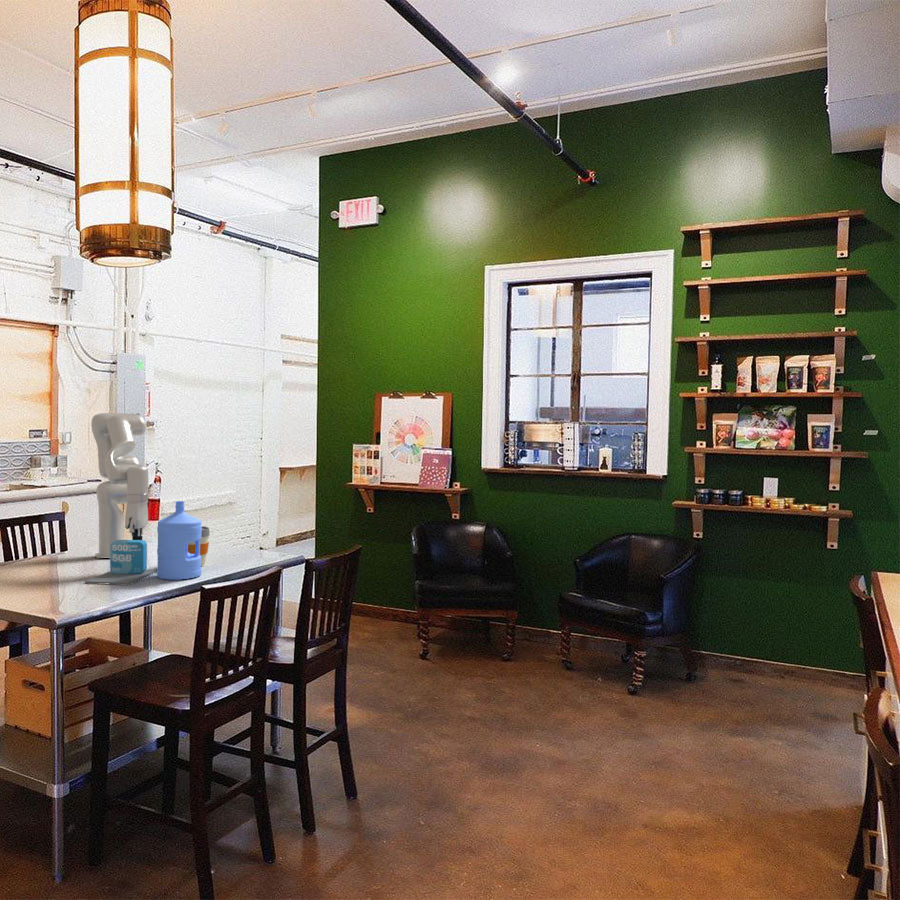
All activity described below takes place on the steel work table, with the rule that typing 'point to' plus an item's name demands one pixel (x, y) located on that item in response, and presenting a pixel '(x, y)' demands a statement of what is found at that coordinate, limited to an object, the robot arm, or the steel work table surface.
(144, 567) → the data package
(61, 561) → the steel work table surface
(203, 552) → the reusable coffee cup
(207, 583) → the steel work table surface
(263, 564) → the steel work table surface
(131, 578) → the mat
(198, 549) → the water jug
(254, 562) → the steel work table surface
